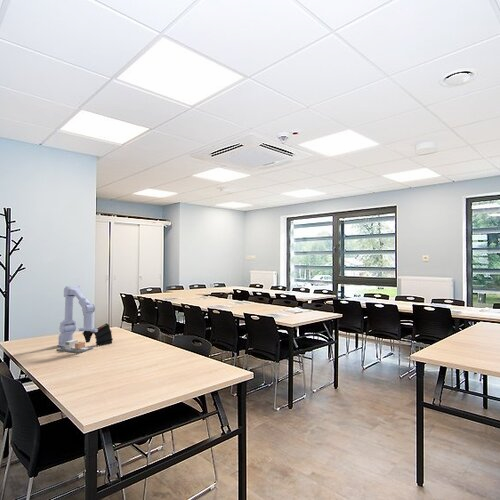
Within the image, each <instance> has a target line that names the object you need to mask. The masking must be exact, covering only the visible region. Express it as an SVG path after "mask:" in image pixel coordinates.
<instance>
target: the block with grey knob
mask: <svg viewBox="0 0 500 500" xmlns="http://www.w3.org/2000/svg"><path fill="white" fill-rule="evenodd" d="M83 347H86V341H78V343H75V349H80V348H83Z"/></svg>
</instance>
